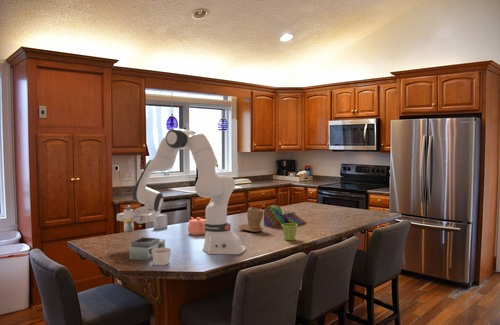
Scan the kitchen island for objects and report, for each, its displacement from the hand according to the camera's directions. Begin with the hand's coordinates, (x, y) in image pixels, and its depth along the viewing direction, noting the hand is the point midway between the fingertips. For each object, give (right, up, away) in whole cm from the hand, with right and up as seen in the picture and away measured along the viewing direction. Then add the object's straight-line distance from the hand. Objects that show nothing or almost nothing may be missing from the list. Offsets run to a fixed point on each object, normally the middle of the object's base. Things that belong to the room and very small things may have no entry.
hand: (127, 219), depth 206 cm
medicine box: (+4, -14, +59) cm, 61 cm away
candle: (+22, -17, -22) cm, 36 cm away
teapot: (+31, -15, +41) cm, 54 cm away
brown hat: (+65, -14, +49) cm, 83 cm away
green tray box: (+12, -17, -7) cm, 22 cm away
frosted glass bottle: (0, -6, +1) cm, 6 cm away
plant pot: (+87, -15, +24) cm, 91 cm away
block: (+88, -14, +68) cm, 112 cm away
